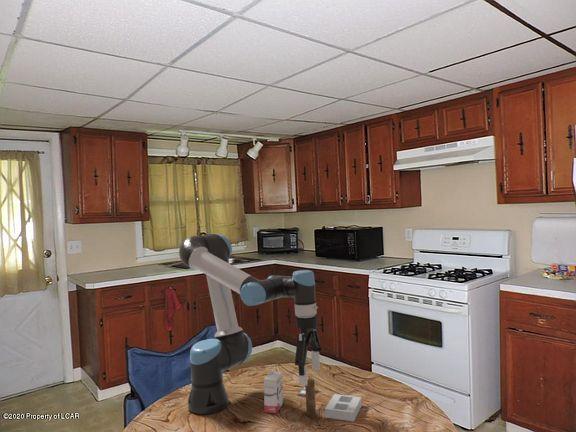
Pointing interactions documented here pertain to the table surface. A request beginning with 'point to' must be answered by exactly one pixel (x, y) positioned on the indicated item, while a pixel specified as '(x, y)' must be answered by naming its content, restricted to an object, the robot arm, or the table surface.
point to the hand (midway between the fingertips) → (310, 376)
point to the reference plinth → (303, 391)
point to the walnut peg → (310, 399)
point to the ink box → (273, 392)
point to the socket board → (343, 407)
